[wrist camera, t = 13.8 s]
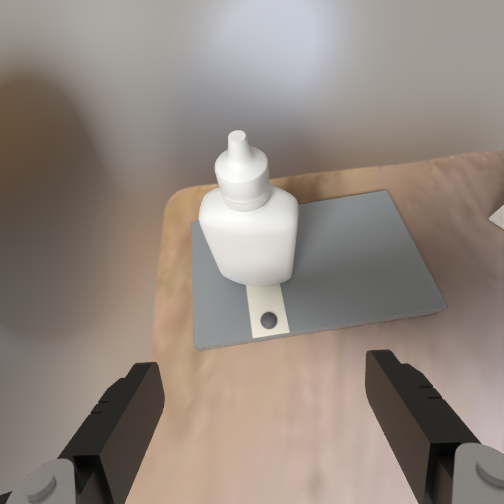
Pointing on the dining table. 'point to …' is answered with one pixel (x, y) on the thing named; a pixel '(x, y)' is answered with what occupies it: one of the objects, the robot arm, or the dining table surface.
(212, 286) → the floor panel
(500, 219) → the milk
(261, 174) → the eye dropper bottle
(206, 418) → the dining table surface
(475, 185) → the dining table surface
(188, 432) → the dining table surface
